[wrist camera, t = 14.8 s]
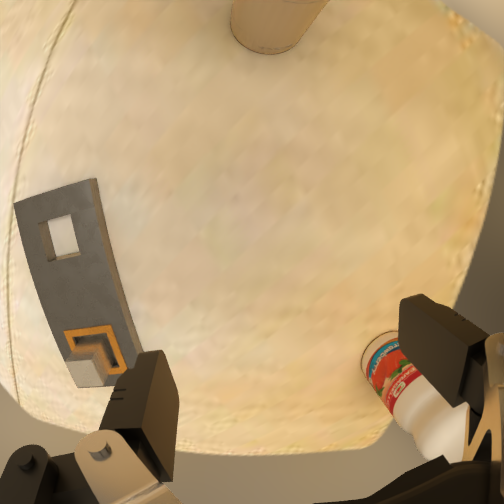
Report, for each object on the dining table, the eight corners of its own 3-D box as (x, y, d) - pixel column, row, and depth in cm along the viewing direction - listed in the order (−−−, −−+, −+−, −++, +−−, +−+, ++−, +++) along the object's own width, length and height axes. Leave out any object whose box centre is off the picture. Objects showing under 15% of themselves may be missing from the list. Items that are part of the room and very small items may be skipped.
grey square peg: (85, 332, 40) (64, 361, 33) (108, 329, 41) (91, 359, 33) (94, 355, 42) (77, 387, 34) (117, 353, 42) (103, 386, 34)
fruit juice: (384, 384, 49) (469, 500, 22) (348, 368, 47) (435, 505, 20) (418, 341, 48) (524, 445, 21) (385, 320, 45) (503, 439, 18)
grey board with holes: (22, 201, 35) (12, 203, 32) (96, 178, 36) (88, 179, 33) (82, 378, 42) (77, 388, 40) (151, 372, 43) (148, 383, 41)
